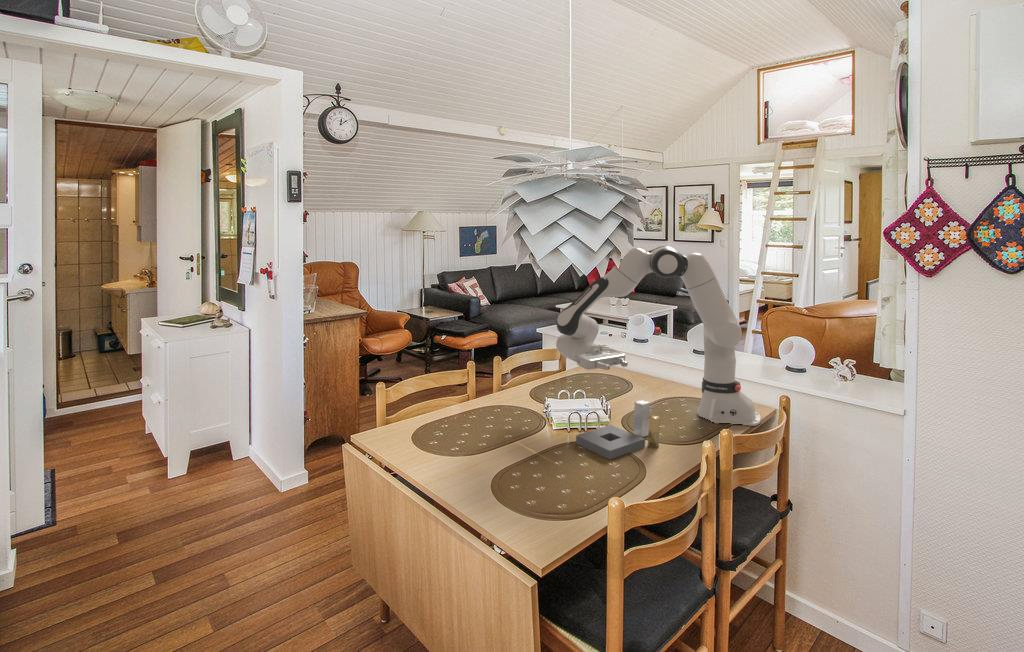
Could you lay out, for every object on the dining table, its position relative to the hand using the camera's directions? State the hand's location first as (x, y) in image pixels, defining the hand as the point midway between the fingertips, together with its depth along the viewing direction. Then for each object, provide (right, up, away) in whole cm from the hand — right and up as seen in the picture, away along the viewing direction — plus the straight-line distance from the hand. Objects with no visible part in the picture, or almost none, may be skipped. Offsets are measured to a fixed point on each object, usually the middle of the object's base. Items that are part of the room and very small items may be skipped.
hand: (617, 366), depth 203 cm
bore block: (-5, -26, -13) cm, 29 cm away
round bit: (+9, -26, -14) cm, 31 cm away
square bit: (+7, -24, -5) cm, 25 cm away
